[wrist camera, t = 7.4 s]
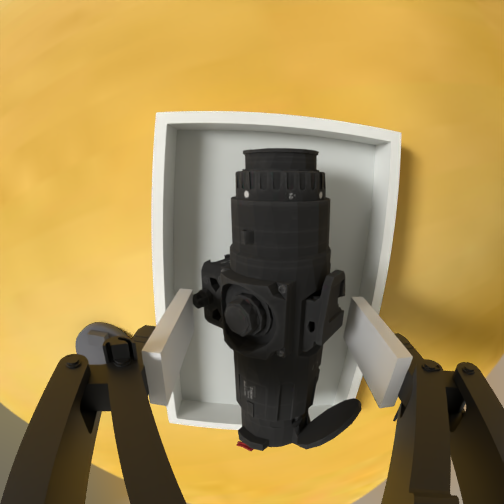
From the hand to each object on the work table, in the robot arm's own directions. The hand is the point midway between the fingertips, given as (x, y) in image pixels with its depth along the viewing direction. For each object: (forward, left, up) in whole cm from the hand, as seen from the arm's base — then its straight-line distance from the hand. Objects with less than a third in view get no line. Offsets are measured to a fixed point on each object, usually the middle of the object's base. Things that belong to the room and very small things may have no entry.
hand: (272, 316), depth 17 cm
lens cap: (+7, -13, -5) cm, 15 cm away
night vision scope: (0, 0, -3) cm, 3 cm away
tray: (0, 0, -4) cm, 4 cm away
